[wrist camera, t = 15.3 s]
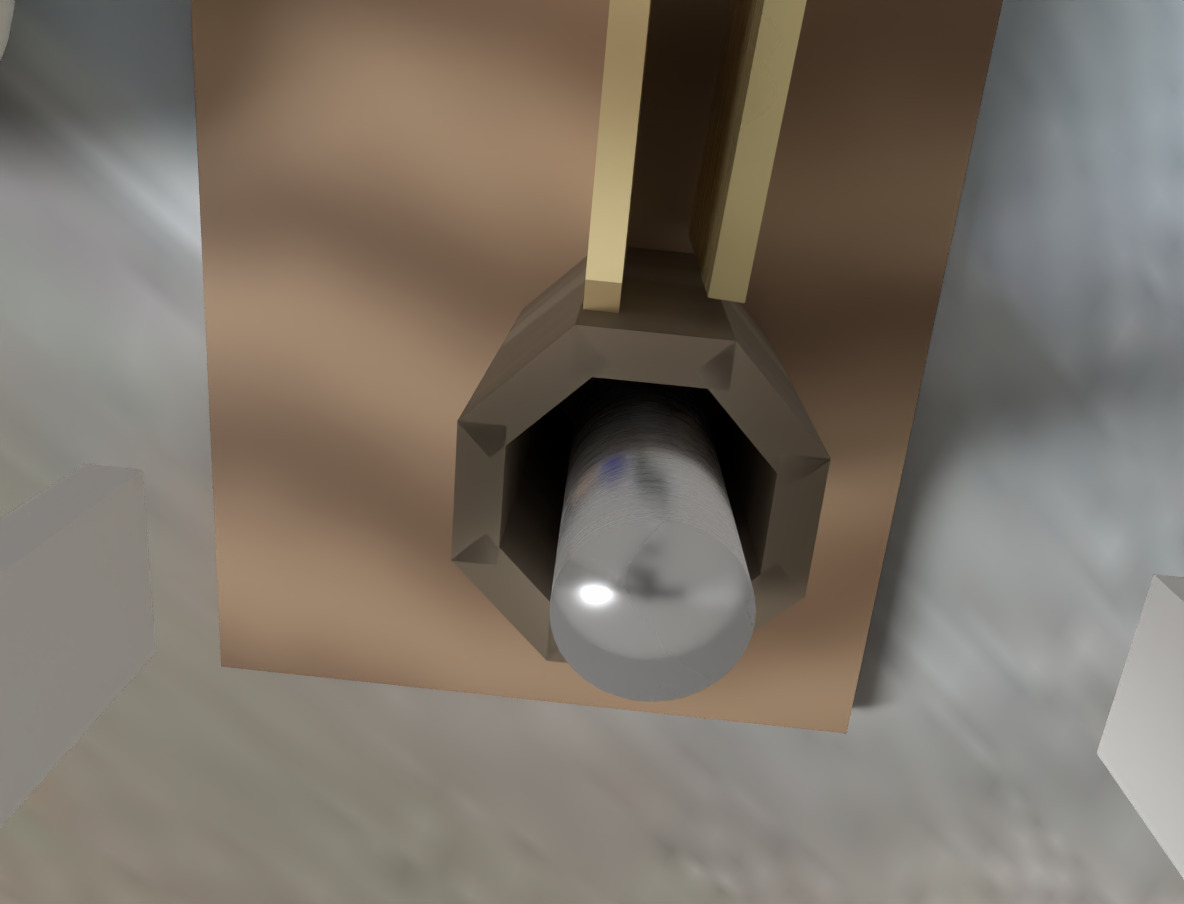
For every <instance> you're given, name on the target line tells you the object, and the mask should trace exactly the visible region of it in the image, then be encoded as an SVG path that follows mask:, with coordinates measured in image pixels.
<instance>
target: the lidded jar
mask: <svg viewBox="0 0 1184 904" xmlns="http://www.w3.org/2000/svg"><path fill="white" fill-rule="evenodd" d="M14 7H15V0H0V61H1V59H2V56H3V53H4V50H5V48H6V45H7V42H8V38H9V34H10V29H11V23H12V18H13V13H14Z"/></svg>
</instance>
